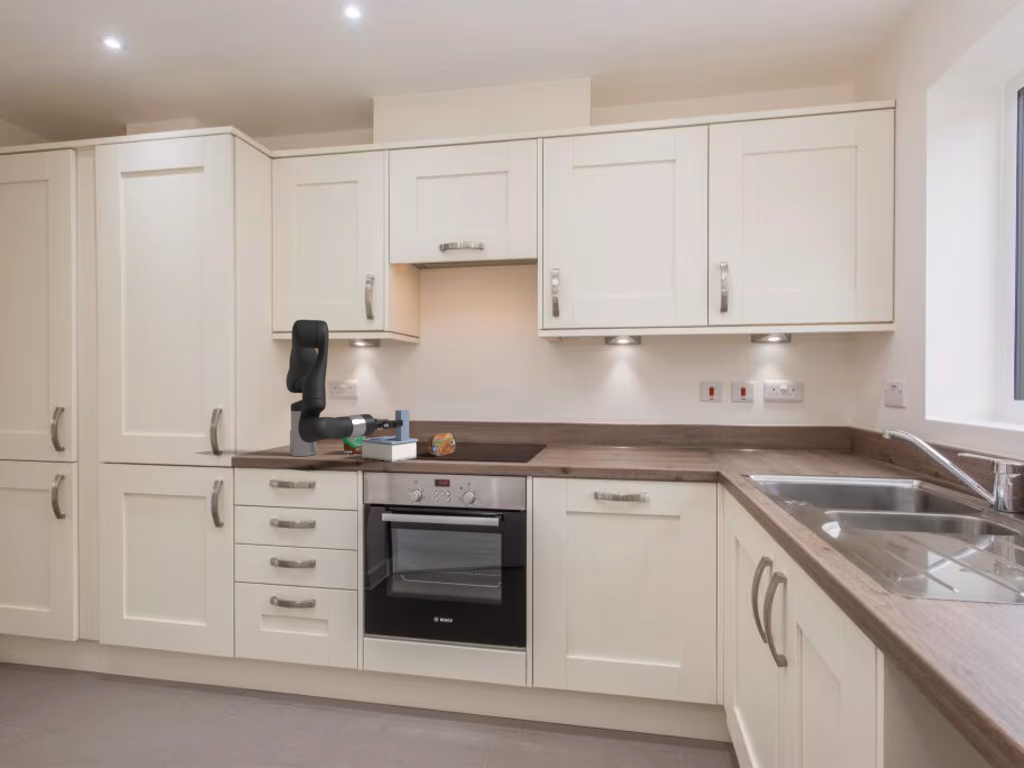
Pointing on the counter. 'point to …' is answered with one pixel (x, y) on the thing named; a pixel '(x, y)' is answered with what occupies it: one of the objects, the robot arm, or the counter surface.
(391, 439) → the lid
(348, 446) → the food container
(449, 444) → the tin
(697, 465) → the counter surface
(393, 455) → the tub
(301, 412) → the robot arm
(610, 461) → the counter surface
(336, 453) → the counter surface
